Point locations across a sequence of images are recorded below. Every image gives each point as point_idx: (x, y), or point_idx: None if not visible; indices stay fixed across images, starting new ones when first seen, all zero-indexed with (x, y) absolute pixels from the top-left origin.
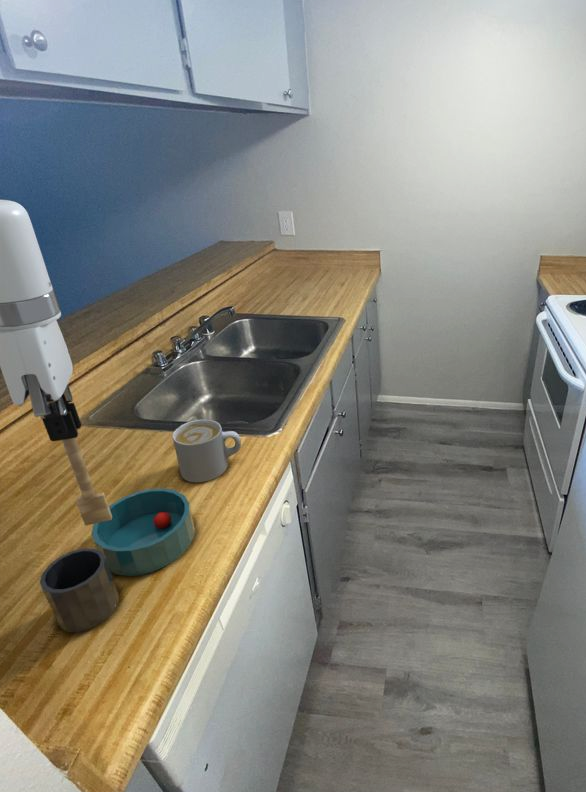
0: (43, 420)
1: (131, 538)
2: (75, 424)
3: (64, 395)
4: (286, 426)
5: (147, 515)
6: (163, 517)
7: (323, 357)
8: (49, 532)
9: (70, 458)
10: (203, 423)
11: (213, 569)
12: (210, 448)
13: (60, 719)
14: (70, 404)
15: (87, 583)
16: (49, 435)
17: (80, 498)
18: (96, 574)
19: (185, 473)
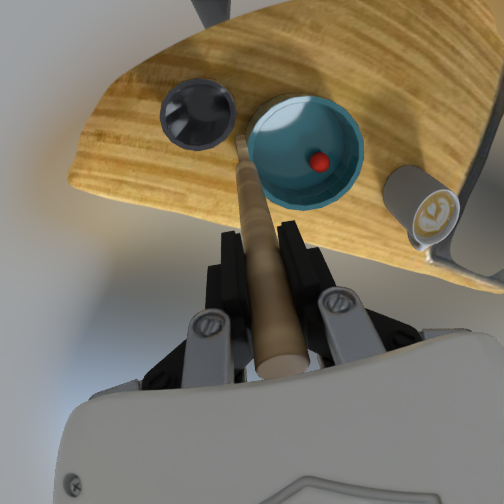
0: (222, 288)
1: (304, 125)
2: None
3: (324, 367)
4: (432, 266)
5: (341, 136)
6: (317, 168)
7: (500, 287)
8: (341, 28)
9: (240, 211)
10: (452, 219)
11: (237, 220)
12: (407, 228)
13: (94, 134)
14: (306, 344)
15: (172, 141)
16: (222, 245)
17: (243, 154)
18: (183, 148)
19: (397, 177)
